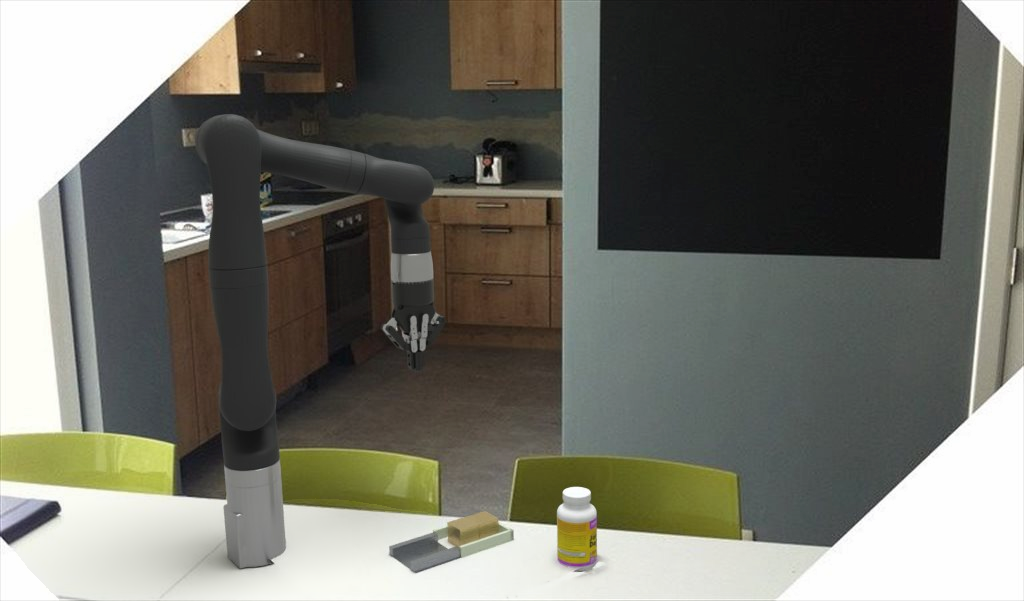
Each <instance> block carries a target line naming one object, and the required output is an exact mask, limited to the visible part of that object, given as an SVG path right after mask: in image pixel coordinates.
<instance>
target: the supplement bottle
mask: <svg viewBox="0 0 1024 601" xmlns="http://www.w3.org/2000/svg"><path fill="white" fill-rule="evenodd" d="M591 500H592V493H591V490H590V489H589V488H586V487H581V486H570V487H567V488H565V489H563V491H562V501H563V502H562V504H560V505H559V506H558V507H557V510H556V538H557V539H556V541H557V542H556V543H557V546H556V547H557V548H556V551H557V553H556V556H557V561H558V564H561V565H562V566H564V567H567V568H568V567H569V568H572V569H575V570H574V572H575V573H578V572H579V573H580V572H586V571H590V570H591V569H593V568H594V567H596V565H597V560H598V538H597V537H598V536H597V535H598V534H597V533H598V532H597V531H598V528H597V527H598V526H597V525H598V522H597V521H598V515H597V514H598V513H597V512H598V511H597V509H596V507H595V506H594V505H593V504H592V503H590V502H591Z"/></svg>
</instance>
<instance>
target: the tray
mask: <svg viewBox="0 0 1024 601" xmlns="http://www.w3.org/2000/svg"><path fill="white" fill-rule="evenodd" d="M498 529H499V533H498V534H495V535H492V536H489V537H486V538H483V539H480V540H477V541H474V542H471V543H468V544H465V545H462V546H459V548H460V555H461V557H462V558H466V557H469V556H471V555H474V554H477V553H479V552H481V551H486V550H488V549H491V548H494V547H496V546H500V545H503V544H506V543H509V542H511V541H515V539H514V538H515V536H514V531H515V530H514V529H512V528H511V527H508V526H507V525H505V524H503V523H502V522H500V521H498ZM433 532H435V533H436V534H438V541H439V540H442V539H446V538H448V525H445V526H441V527H438V528H435V529H433V530H432V533H433Z"/></svg>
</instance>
